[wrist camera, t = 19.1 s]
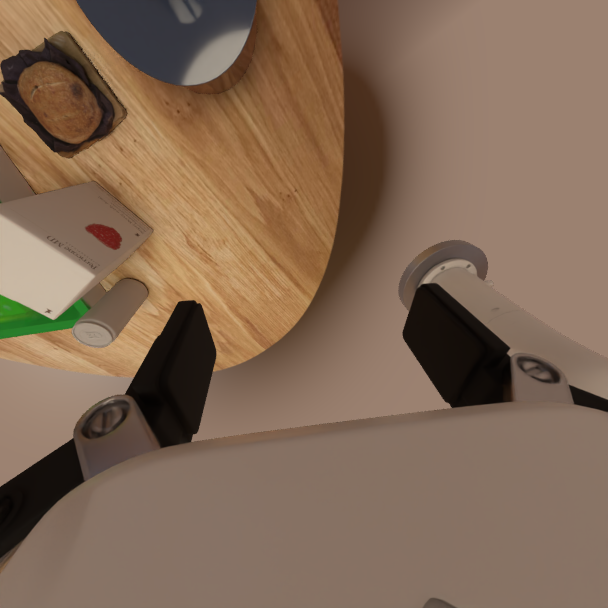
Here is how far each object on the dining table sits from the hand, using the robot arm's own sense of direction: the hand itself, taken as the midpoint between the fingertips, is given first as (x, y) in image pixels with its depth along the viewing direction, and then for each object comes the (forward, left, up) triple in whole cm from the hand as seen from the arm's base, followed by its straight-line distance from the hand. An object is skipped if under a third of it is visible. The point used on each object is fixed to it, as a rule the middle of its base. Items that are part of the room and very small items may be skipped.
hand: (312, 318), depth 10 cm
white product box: (+26, +4, -31) cm, 40 cm away
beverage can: (+27, +15, -31) cm, 43 cm away
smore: (+24, -10, -31) cm, 40 cm away
